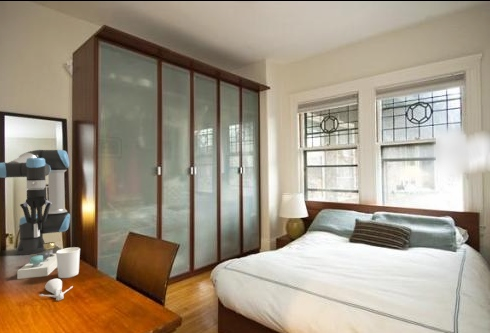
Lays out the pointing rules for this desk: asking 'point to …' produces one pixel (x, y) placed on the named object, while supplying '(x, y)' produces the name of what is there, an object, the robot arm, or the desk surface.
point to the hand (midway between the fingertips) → (36, 236)
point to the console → (38, 268)
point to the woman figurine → (55, 289)
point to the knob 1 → (36, 260)
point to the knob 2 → (49, 247)
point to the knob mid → (44, 255)
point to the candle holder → (68, 262)
